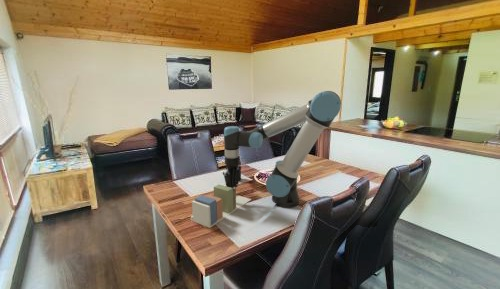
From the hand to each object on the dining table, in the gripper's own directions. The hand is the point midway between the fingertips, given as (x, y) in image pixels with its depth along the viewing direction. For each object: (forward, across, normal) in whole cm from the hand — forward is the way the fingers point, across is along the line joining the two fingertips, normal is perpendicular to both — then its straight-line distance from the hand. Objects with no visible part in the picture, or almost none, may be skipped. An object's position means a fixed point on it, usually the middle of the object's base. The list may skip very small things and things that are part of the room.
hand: (232, 198), depth 136 cm
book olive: (+2, +9, +1) cm, 9 cm away
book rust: (+2, +17, +1) cm, 17 cm away
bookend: (+2, +5, 0) cm, 6 cm away
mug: (+4, -28, -20) cm, 35 cm away
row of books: (+4, +8, 0) cm, 9 cm away
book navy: (+2, +22, +1) cm, 22 cm away
